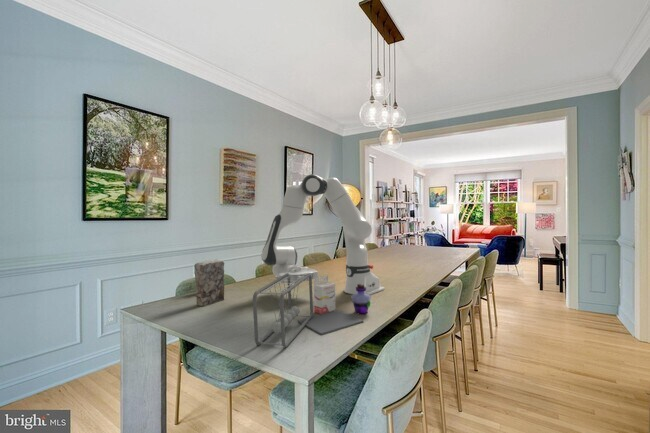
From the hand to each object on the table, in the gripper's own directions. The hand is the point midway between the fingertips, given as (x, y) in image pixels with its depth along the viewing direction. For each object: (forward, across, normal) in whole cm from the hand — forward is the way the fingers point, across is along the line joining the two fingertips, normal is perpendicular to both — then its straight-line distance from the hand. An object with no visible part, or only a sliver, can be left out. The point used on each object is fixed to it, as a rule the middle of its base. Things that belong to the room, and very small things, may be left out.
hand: (306, 279), depth 144 cm
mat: (+26, -5, +11) cm, 29 cm away
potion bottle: (+25, +12, +11) cm, 30 cm away
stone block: (-31, -36, +12) cm, 49 cm away
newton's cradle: (+24, -23, +12) cm, 35 cm away
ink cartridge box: (+14, +1, +12) cm, 18 cm away
